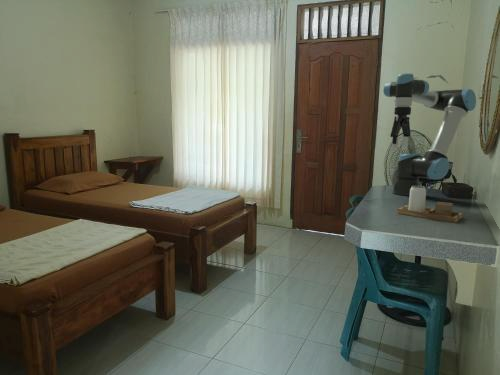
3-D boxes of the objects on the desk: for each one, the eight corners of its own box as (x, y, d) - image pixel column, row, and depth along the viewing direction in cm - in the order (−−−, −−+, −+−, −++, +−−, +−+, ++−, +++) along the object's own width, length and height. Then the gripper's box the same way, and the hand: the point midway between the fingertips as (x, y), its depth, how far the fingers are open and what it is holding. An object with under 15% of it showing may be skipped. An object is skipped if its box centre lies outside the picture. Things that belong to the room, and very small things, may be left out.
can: (425, 215, 166) (428, 187, 164) (409, 214, 167) (412, 187, 166) (422, 212, 172) (424, 185, 171) (406, 211, 174) (409, 184, 172)
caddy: (407, 210, 178) (407, 204, 178) (462, 219, 163) (462, 213, 163) (397, 214, 170) (397, 208, 169) (454, 224, 155) (455, 217, 154)
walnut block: (436, 215, 167) (437, 201, 166) (451, 217, 164) (453, 203, 163) (434, 218, 162) (435, 203, 161) (450, 220, 159) (451, 205, 158)
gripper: (404, 107, 201) (401, 148, 204) (385, 105, 182) (382, 150, 186) (419, 107, 196) (415, 149, 199) (401, 105, 177) (397, 151, 181)
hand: (399, 150), depth 193 cm, fingers open, 13 cm apart
